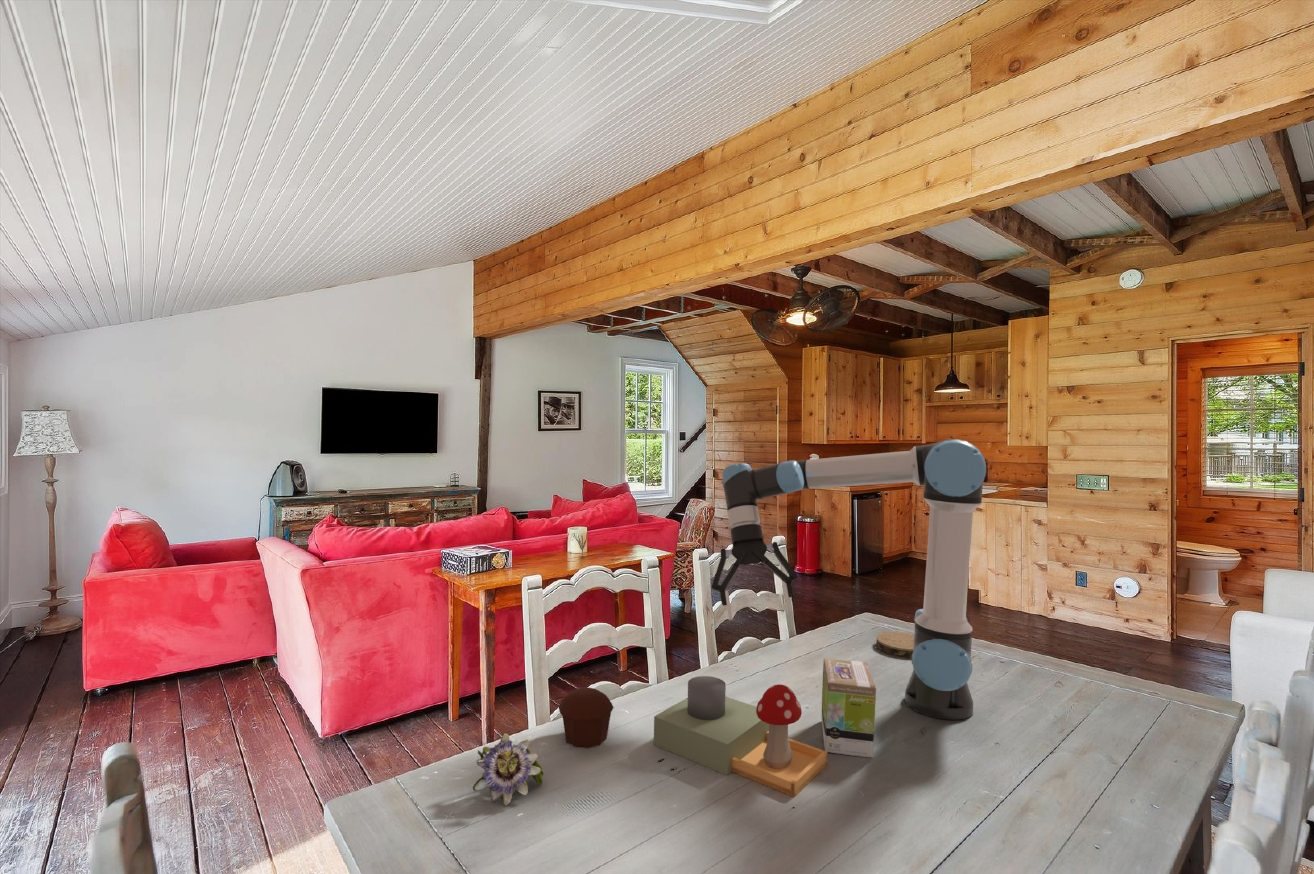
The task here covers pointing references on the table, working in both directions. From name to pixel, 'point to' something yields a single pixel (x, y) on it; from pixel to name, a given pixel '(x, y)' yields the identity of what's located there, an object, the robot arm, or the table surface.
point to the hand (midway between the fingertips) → (759, 616)
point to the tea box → (848, 707)
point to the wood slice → (896, 644)
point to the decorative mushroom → (778, 723)
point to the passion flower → (508, 769)
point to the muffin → (586, 717)
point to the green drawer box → (731, 738)
